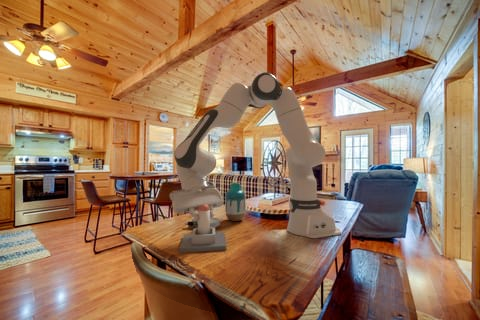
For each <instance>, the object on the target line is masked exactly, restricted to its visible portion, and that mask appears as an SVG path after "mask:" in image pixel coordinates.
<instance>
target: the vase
mask: <svg viewBox="0 0 480 320" xmlns="http://www.w3.org/2000/svg"><path fill="white" fill-rule="evenodd" d="M246 203H247V202H246V193H245V192H244V191H243V190H242V187H241V183H240V182H231V183H230V184H229V190H227V191H226V192H225V200H224V205H225V206H224V207H225V208H224V210H225V212H224V213H225V216H226V218H227V219H228V220H229V221H233V222H238V221H241V220H244V218H245V215H246Z"/></svg>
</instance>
